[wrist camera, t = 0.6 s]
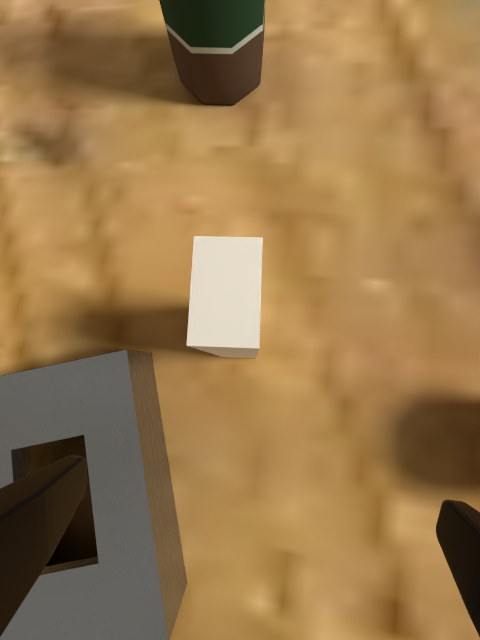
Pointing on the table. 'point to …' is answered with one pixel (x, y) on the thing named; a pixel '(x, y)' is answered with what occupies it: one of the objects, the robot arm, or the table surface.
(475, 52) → the table surface
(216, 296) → the block
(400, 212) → the table surface
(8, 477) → the box
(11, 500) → the robot arm
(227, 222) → the table surface
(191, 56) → the beer bottle
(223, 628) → the table surface
